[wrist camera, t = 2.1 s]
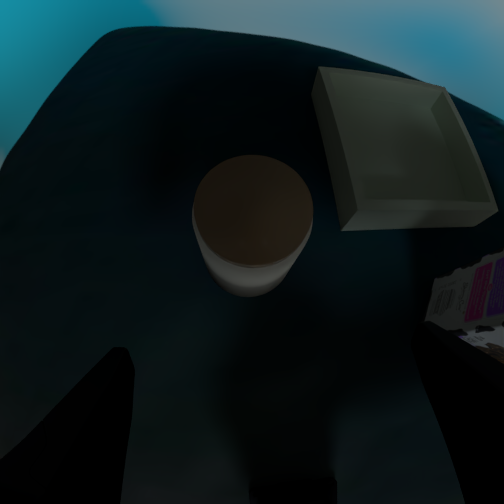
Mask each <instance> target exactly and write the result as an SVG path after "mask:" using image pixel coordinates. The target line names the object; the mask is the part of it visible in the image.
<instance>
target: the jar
mask: <svg viewBox="0 0 504 504" xmlns="http://www.w3.org/2000/svg"><path fill="white" fill-rule="evenodd" d="M192 222H193V227H194V231H195V234H196V237H197V240H198V243H199V246H200V249H201V252H202V255H203V258H204V261H205V264H206V267H207V269H208V272H209V274H210V276H211V277H212V279H213V280H214V281H215V283H216V284H217V285H218V286H219V287H221V288H222V289H223V290H225V291H227V292H229V293H231V294H233V295H237V296H242V297H254V296H259V295H263V294H265V293H268V292H269V291H271V290H273V289H274V288H275V287H277V286H278V285H279V284H280V283H281V281H282V280H283V279H284V277H285V276H286V274H287V273H288V271H289V270H290V268H291V266H292V265H293V263H294V262H295V260H296V259H297V257H298V255H299V254H300V252H301V251H302V249H303V247H304V246H305V244H306V242H307V240H308V238H309V236H310V233H311V229H312V222H313V202H312V198H311V194H310V192H309V189H308V187H307V185H306V184H305V182H304V181H303V179H302V178H301V177H300V176H299V175H298V173H297V172H296V171H294V170H293V169H292V168H291V167H289V166H288V165H286V164H285V163H283V162H281V161H279V160H276V159H273V158H271V157H266V156H261V155H242V156H238V157H234V158H231V159H228V160H226V161H223V162H221V163H220V164H218V165H217V166H215V167H214V168H213V169H211V170H210V171H209V172H208V173H207V174H206V175H205V177H204V178H203V179H202V181H201V183H200V184H199V186H198V189H197V191H196V194H195V198H194V204H193V209H192Z"/></svg>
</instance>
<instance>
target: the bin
mask: <svg viewBox="0 0 504 504" xmlns="http://www.w3.org/2000/svg"><path fill="white" fill-rule="evenodd" d="M311 97H312V101H313V105H314V109H315V112H316V116H317V120H318V124H319V128H320V132H321V137H322V141H323V145H324V149H325V154H326V158H327V163H328V167H329V172H330V177H331V182H332V186H333V191H334V196H335V202H336V207H337V212H338V218H339V223H340V229H341V231H351V230H378V229H407V228H441V227H474V226H476V225H478V224H479V223H481V222H482V221H484V220H485V219H487V218H488V217H490V216H491V215H493V214H494V213H496V212H497V211H498V208H497V205H496V202H495V199H494V196H493V193H492V190H491V187H490V184H489V182H488V179H487V176H486V173H485V171H484V168H483V166H482V163H481V161H480V158H479V156H478V154H477V151H476V149H475V147H474V144H473V142H472V140H471V138H470V135H469V133H468V131H467V129H466V127H465V125H464V123H463V121H462V119H461V117H460V115H459V113H458V111H457V109H456V107H455V105H454V103H453V101H452V99H451V97H450V96H449V94H448V92H447V90H446V88H445V87H441V86H437V85H433V84H429V83H425V82H420V81H415V80H411V79H406V78H401V77H395V76H390V75H384V74H378V73H371V72H364V71H357V70H349V69H340V68H330V67H318V70H317V74H316V78H315V81H314V85H313V89H312V92H311Z"/></svg>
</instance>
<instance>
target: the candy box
mask: <svg viewBox="0 0 504 504" xmlns="http://www.w3.org/2000/svg"><path fill="white" fill-rule="evenodd" d="M423 321H431V322H433V323H435V324H437V325H438V326H440V327H442V328H444V329H445V330H447V331H449V332H451V333H452V334H454V335H456V336H457V337H459V338H461V339H463V340H464V341H466V342H468V343H469V344H471V345H473V346H475V347H476V348H478V349H480V350H481V351H483V352H485V353H486V354H488V355H490V356H492V357H493V358H495V359H497V360H498V361H500V362H502V363H503V364H504V247H502V248H500V249H498V250H496V251H494V252H492V253H490V254H488V255H486V256H484V257H482V258H480V259H477V260H475V261H473V262H471V263H469V264H466V265H464V266H462V267H459V268H457V269H455V270H453V271H451V272H448V273H446V274H444V275H441V276H439V277H436V278H435V279H434V283H433V287H432V290H431V293H430V297H429V301H428V304H427V307H426V310H425V313H424V316H423V319H422V322H423Z"/></svg>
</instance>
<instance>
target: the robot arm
mask: <svg viewBox="0 0 504 504" xmlns="http://www.w3.org/2000/svg"><path fill="white" fill-rule="evenodd" d="M411 348H412V351H413V354H414V357H415V360H416V363H417V367H418V370H419V373H420V376H421V379H422V382H423V385H424V388H425V391H426V393H427V395H428V398H429V400H430V403H431V405H432V408H433V410H434V413H435V415H436V418H437V420H438V423H439V426H440V428H441V431H442V434H443V436H444V439H445V442H446V444H447V447H448V450H449V453H450V456H451V459H452V462H453V465H454V468H455V471H456V474H457V477H458V480H459V483H460V487H461V490H462V494H463V497H464V500H465V504H504V364H503V363H502V362H500V361H498V360H497V359H495V358H493V357H492V356H490V355H488V354H486V353H485V352H483V351H481V350H480V349H478V348H476V347H475V346H473V345H471V344H469V343H468V342H466V341H464V340H463V339H461V338H459V337H457V336H456V335H454V334H452V333H451V332H449V331H447V330H445V329H444V328H442V327H440V326H438V325H437V324H435V323H433V322H431V321H423V322H420V323H418V324H417V327H416V329H415V332H414V335H413V337H412V340H411ZM134 376H135V369H134V365H133V363H132V360H131V357H130V355H129V352H128V350H127V348H124V347H114V348H112V349H111V350H110V351H109V352H108V353H107V354H106V355H105V356H104V357H103V358H102V359H101V360H100V361H99V362H98V363H97V364H96V365H95V366H94V367H93V368H92V369H91V370H90V371H89V372H88V373H87V374H86V375H85V376H84V377H83V378H82V379H81V380H80V381H79V382H78V383H77V384H76V386H75V387H74V388H73V389H72V390H71V391H70V392H69V393H68V394H67V395H66V396H65V397H64V398H63V399H62V400H61V401H60V402H59V403H58V404H57V405H56V406H55V407H54V408H53V409H52V410H51V411H50V412H49V414H48V415H47V416H46V417H45V418H44V419H43V421H41V422H40V423H39V424H38V425H37V426H36V427H35V428H34V429H33V430H32V431H31V432H30V433H29V434H28V435H27V436H26V437H25V438H24V439H23V440H22V441H21V442H20V443H19V444H18V445H17V446H15V447H14V448H13V449H12V450H11V451H10V452H9V453H7V454H6V455H5V456H4V457H3V458H2V459H0V504H120V500H121V491H122V482H123V474H124V467H125V459H126V452H127V445H128V439H129V433H130V426H131V420H132V408H133V391H134ZM329 482H332V484H331V485H327V484H328V483H329ZM254 492H258V493H259V494H258V495H253V493H254ZM249 497H250V504H337V481H336V480H335V479H334V478H333V477H327V478H322V479H316V480H312V479H304V480H297V481H290V482H283V483H277V484H276V485H275V486H265V487H255V488H252V489H251V490H250V491H249Z"/></svg>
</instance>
